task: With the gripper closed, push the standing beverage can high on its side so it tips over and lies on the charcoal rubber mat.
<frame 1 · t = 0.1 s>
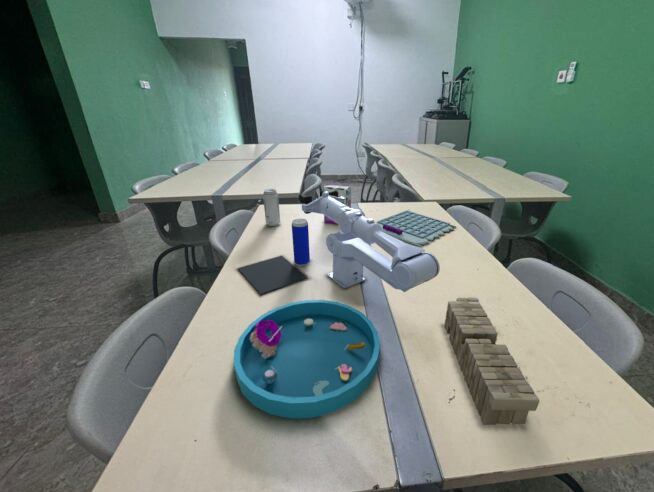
hand: (310, 195, 103), 22 cm above the table, tool horizontal, fingers open, 7 cm apart
block tower: (476, 367, 67), on the table
energy drink can: (273, 224, 137), on the table
candy bar box: (337, 222, 141), on the table
calendar: (412, 228, 139), on the table
mat: (272, 273, 99), on the table
beverage can: (302, 263, 106), on the table
round teal tray: (310, 355, 69), on the table
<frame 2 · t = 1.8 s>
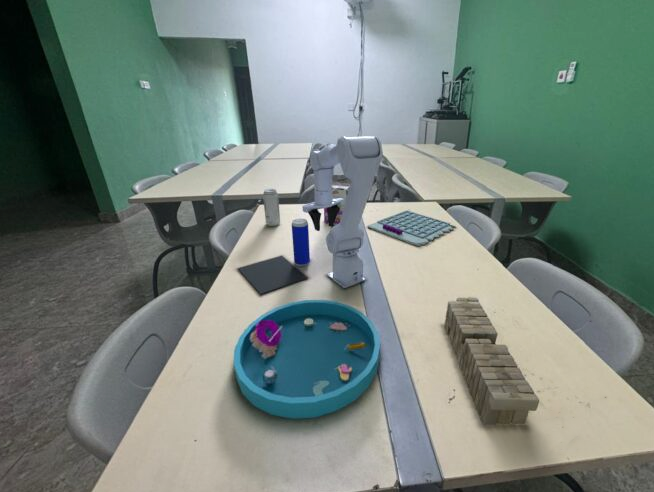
hand: (324, 228, 107), 10 cm above the table, tool pointing down, fingers open, 5 cm apart
nothing on the table moved.
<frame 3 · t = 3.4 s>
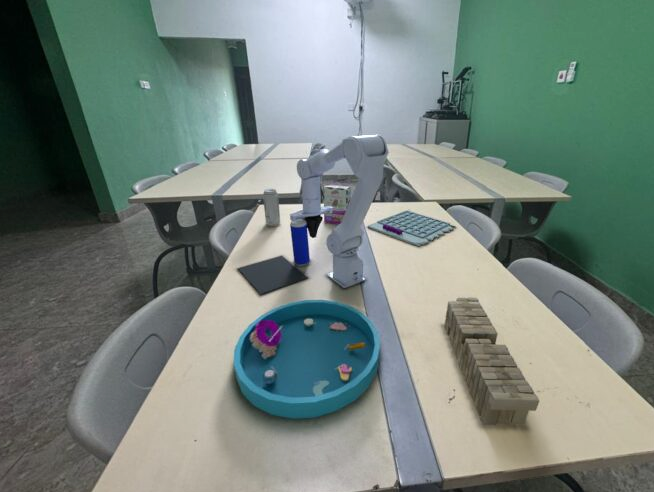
hand: (312, 236, 106), 8 cm above the table, tool pointing down, fingers closed
beverage can: (302, 262, 106), on the table, touching gripper
everything else where it was.
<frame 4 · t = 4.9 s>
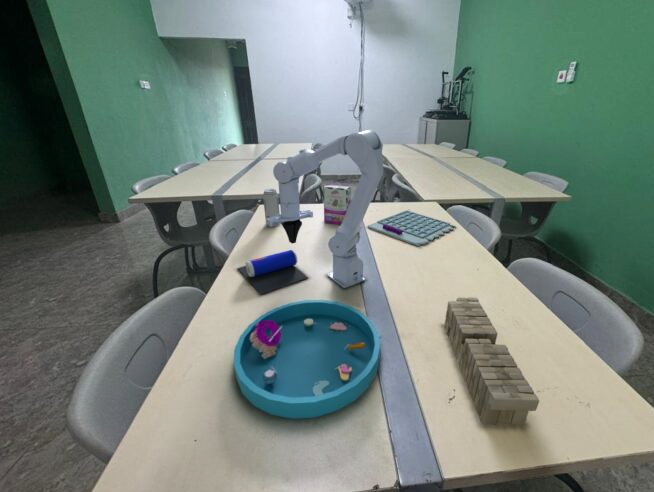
hand: (292, 242, 101), 8 cm above the table, tool pointing down, fingers closed
beverage can: (295, 256, 104), point 3 cm above the table, touching mat
everything else where it was.
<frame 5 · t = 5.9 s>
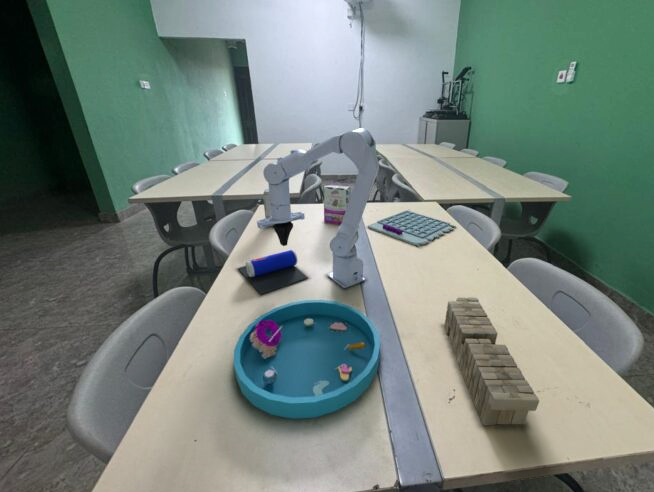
hand: (283, 244, 99), 8 cm above the table, tool pointing down, fingers closed
nothing on the table moved.
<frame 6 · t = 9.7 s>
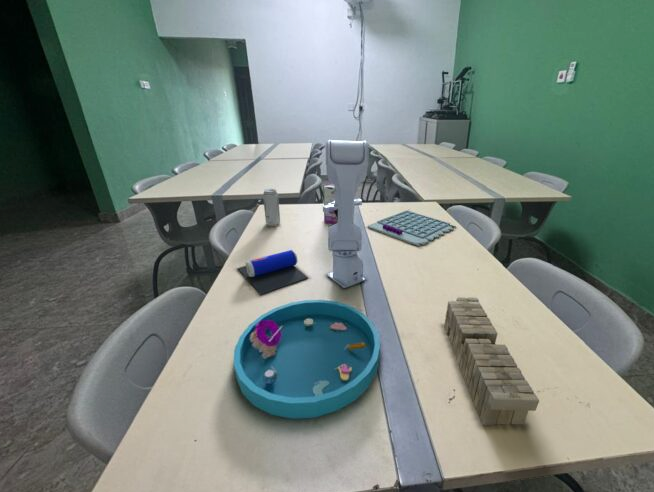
hand: (343, 228, 108), 10 cm above the table, tool pointing down, fingers closed
nothing on the table moved.
at the end: beverage can tilted 90°; beverage can touching mat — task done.
